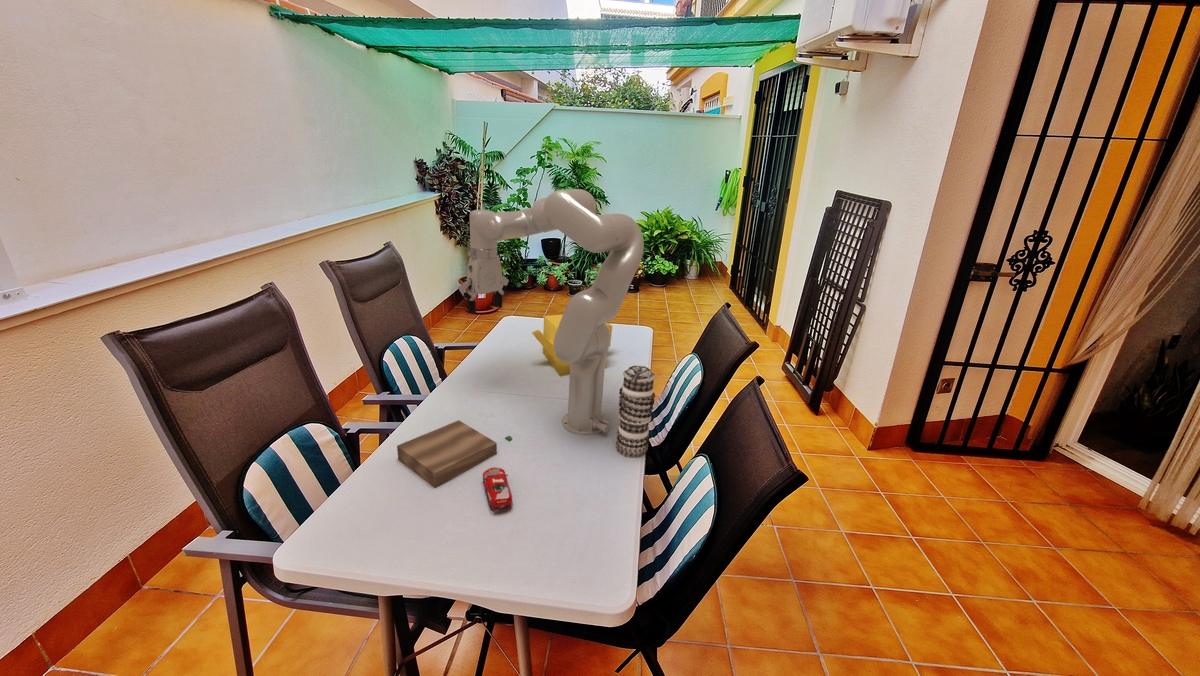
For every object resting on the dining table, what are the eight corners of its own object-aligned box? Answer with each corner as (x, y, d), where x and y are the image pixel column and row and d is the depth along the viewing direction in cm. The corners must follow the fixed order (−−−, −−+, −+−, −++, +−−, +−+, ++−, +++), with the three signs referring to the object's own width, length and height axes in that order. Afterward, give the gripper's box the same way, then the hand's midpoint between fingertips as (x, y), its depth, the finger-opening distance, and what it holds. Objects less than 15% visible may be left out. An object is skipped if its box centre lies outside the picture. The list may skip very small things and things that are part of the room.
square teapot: (519, 356, 189) (520, 303, 182) (591, 349, 201) (594, 299, 194) (546, 396, 159) (548, 335, 152) (628, 385, 171) (634, 328, 164)
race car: (481, 476, 117) (480, 462, 116) (504, 472, 119) (504, 458, 117) (488, 513, 106) (488, 499, 104) (514, 509, 108) (513, 494, 106)
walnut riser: (496, 456, 126) (496, 442, 125) (435, 487, 113) (434, 473, 112) (459, 432, 136) (458, 420, 134) (398, 459, 122) (397, 445, 121)
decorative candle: (620, 467, 125) (628, 378, 117) (609, 447, 134) (616, 363, 125) (653, 463, 128) (663, 376, 119) (640, 444, 136) (649, 361, 128)
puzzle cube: (505, 440, 134) (505, 433, 133) (512, 445, 132) (512, 437, 132) (493, 446, 131) (493, 439, 130) (500, 451, 129) (500, 443, 129)
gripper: (466, 258, 135) (468, 318, 141) (515, 252, 147) (515, 307, 153) (450, 254, 139) (453, 312, 145) (499, 249, 152) (500, 302, 158)
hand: (485, 309), depth 149 cm, fingers open, 9 cm apart
